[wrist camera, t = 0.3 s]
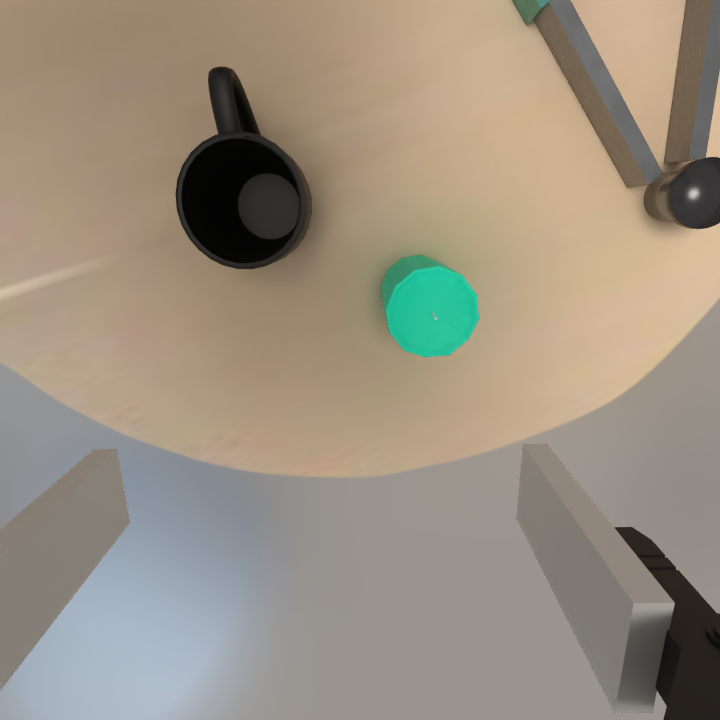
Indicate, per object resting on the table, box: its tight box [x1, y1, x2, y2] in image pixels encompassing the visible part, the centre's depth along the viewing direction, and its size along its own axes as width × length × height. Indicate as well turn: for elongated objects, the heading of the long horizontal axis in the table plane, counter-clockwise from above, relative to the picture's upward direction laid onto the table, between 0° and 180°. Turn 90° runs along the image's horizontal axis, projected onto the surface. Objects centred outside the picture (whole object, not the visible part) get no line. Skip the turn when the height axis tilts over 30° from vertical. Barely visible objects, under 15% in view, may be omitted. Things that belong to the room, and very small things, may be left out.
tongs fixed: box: [644, 0, 720, 229], centre depth 34 cm, size 23×5×5 cm, turn 2°
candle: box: [381, 255, 479, 357], centre depth 35 cm, size 6×6×12 cm
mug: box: [176, 67, 312, 269], centre depth 34 cm, size 8×12×10 cm
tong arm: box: [513, 0, 664, 188], centre depth 35 cm, size 18×2×3 cm, turn 37°
